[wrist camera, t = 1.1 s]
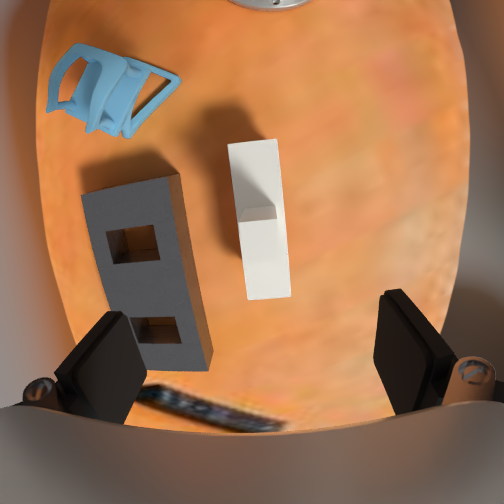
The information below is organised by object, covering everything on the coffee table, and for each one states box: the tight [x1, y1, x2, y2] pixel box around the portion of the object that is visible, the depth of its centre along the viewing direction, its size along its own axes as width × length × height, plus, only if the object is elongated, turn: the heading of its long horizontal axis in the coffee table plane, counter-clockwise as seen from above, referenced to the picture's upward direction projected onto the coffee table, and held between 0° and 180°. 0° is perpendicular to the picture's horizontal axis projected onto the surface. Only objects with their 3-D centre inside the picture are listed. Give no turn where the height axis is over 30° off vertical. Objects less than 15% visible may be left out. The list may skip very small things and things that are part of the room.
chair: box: [46, 43, 182, 139], centre depth 21 cm, size 8×8×12 cm
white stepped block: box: [228, 139, 291, 300], centre depth 25 cm, size 14×4×10 cm, turn 7°
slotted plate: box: [81, 174, 213, 371], centre depth 31 cm, size 22×10×4 cm, turn 7°
